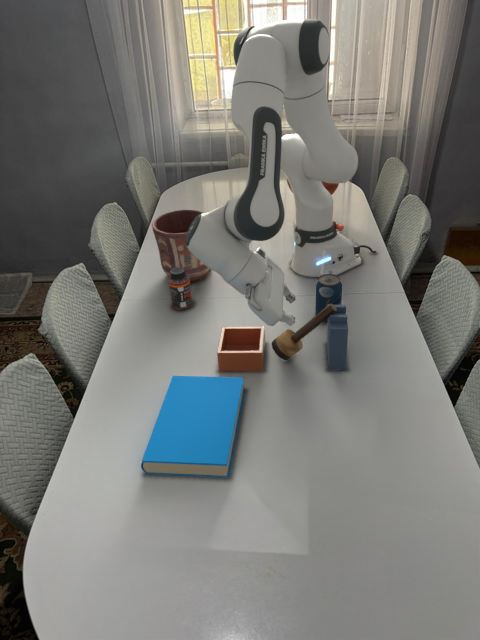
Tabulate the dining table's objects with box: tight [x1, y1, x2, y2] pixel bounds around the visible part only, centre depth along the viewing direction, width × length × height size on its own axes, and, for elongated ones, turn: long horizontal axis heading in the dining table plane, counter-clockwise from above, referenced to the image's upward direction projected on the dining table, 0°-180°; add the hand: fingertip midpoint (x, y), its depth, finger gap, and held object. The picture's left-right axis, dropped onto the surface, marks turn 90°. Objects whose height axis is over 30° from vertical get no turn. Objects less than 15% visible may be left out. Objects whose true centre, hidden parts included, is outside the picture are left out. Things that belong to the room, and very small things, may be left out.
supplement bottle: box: [167, 267, 194, 311], centre depth 144 cm, size 6×6×11 cm
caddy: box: [216, 326, 266, 372], centre depth 125 cm, size 11×11×6 cm
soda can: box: [314, 274, 344, 325], centre depth 135 cm, size 7×7×12 cm
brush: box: [271, 304, 337, 362], centre depth 121 cm, size 15×6×15 cm, turn 87°
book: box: [140, 375, 246, 479], centre depth 107 cm, size 17×4×25 cm
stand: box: [326, 304, 349, 371], centre depth 121 cm, size 4×10×14 cm, turn 177°
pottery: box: [151, 209, 212, 284], centre depth 156 cm, size 18×18×18 cm
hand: (293, 311), depth 117 cm, fingers open, 8 cm apart
